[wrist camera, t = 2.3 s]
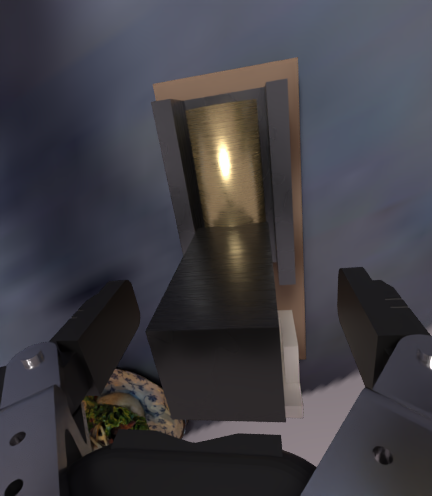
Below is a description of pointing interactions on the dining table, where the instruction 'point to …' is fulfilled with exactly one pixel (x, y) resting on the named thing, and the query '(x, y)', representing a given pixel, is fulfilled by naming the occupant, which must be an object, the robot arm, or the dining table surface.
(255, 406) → the dark grey block
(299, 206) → the base board
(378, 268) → the dining table surface
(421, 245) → the dining table surface
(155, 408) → the burger
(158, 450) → the robot arm
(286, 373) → the far socket
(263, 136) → the outer sleeve
